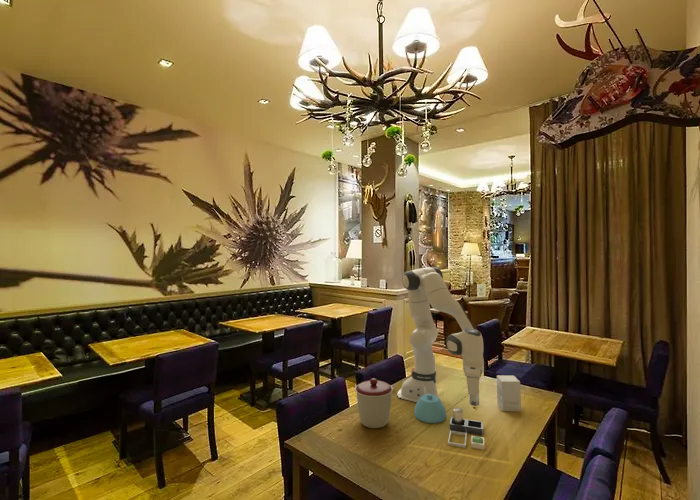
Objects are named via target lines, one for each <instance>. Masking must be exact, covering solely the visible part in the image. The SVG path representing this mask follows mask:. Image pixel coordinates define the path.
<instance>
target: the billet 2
mask: <svg viewBox="0 0 700 500" xmlns="http://www.w3.org/2000/svg"><path fill="white" fill-rule="evenodd" d="M469 405H471V406H472V407H473V406H474V407H477V406H479V405H480V388H479V389H478V395H477V396H476V401H472V396H471V395H469Z"/></svg>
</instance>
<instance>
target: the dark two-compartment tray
mask: <svg viewBox="0 0 700 500" xmlns="http://www.w3.org/2000/svg"><path fill="white" fill-rule="evenodd" d="M450 430H451V431H457V432H463V433H467V434H468V435H469V434H470V435H474V436H475V435H476V436H481V437H484V422H483V421H479V420H473V419H466V418H463V425H457V424H454V418H453V416H452V417H450V421H449V431H450Z"/></svg>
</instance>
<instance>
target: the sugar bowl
mask: <svg viewBox="0 0 700 500" xmlns="http://www.w3.org/2000/svg"><path fill="white" fill-rule="evenodd" d="M413 415H414V417H415V418H416V419H417V420H418V421H420V422H423V423H427V424H439V423H442V422H444V420H445V419H446V417H447V411H446V408H445V405H444V404H443V402H442V401H441V399H440V397H439V398H438V397H437V396H434V395H432V394H427V395H423V396H421V397H420V399H419V400H418V402H416V403H415V406H414V410H413Z"/></svg>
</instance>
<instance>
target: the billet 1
mask: <svg viewBox="0 0 700 500" xmlns="http://www.w3.org/2000/svg"><path fill="white" fill-rule="evenodd" d="M463 411H464V410H463V409H462V408H461V407H457V406H456V407H453V411H452V412H453V416H452V417H453V418H454V424H457V425H463V419H464V417H463V416H464V414H463V413H464V412H463Z"/></svg>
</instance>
